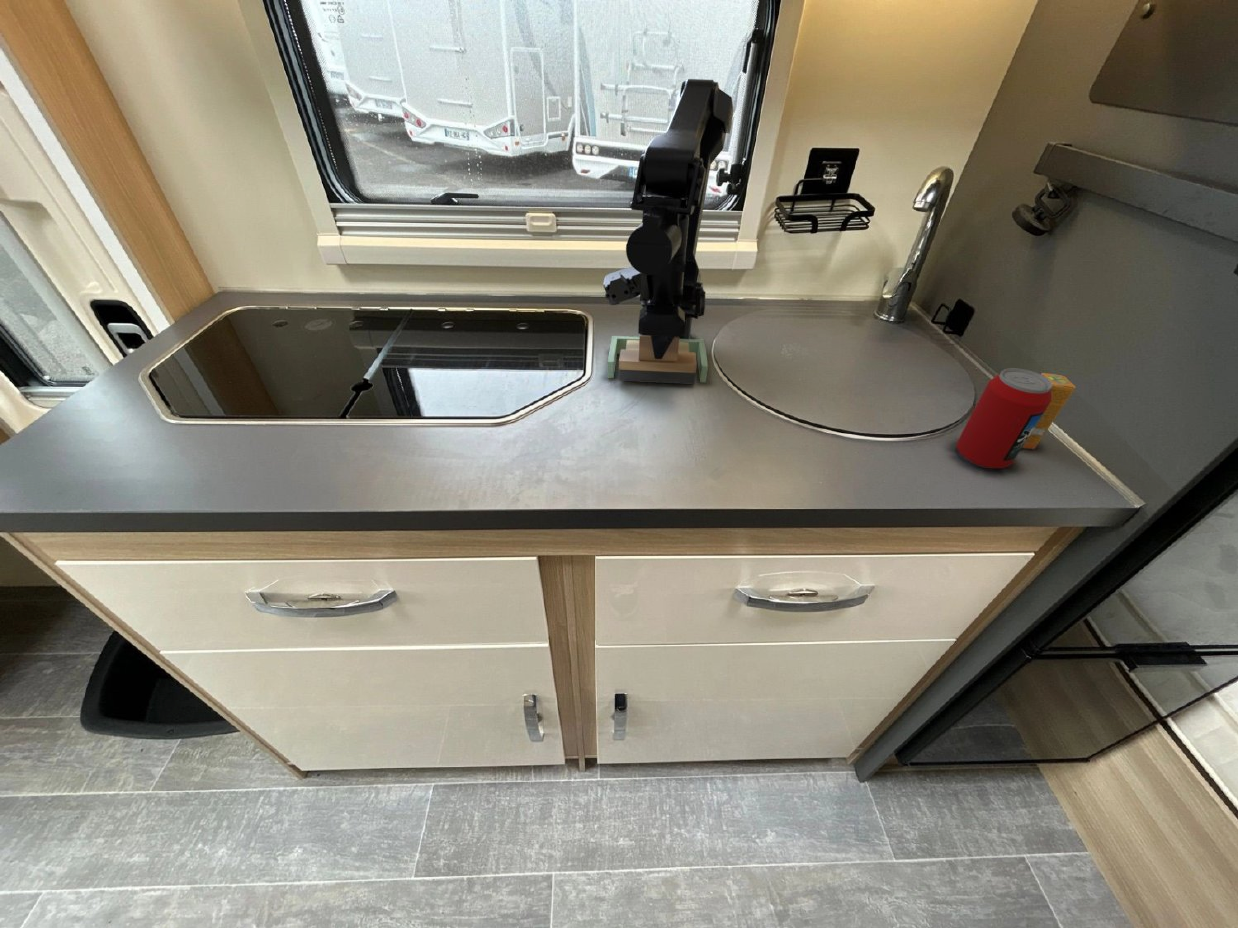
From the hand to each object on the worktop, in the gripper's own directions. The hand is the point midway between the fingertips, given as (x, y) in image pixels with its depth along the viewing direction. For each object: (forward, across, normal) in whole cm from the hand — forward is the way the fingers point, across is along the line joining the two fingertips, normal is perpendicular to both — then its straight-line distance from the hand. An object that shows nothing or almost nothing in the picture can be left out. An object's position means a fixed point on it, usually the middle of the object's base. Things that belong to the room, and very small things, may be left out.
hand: (658, 353), depth 82 cm
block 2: (+5, -4, +3) cm, 7 cm away
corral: (+5, -5, 0) cm, 7 cm away
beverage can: (+5, +16, +44) cm, 47 cm away
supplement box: (+5, +12, +51) cm, 53 cm away
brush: (+4, 0, 0) cm, 4 cm away
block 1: (+5, -4, -3) cm, 7 cm away
